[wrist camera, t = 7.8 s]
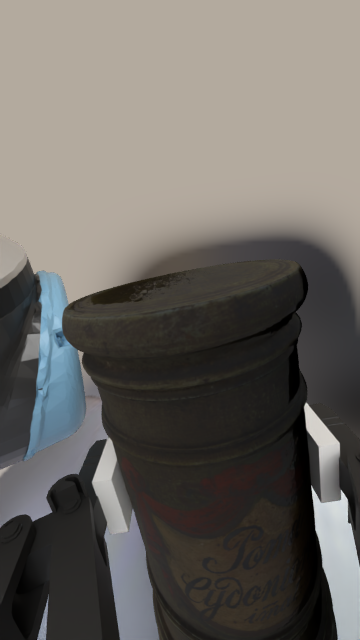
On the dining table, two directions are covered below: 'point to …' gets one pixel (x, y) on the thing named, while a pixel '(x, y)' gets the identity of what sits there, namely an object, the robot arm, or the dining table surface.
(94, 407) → the dining table surface
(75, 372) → the robot arm
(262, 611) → the container
